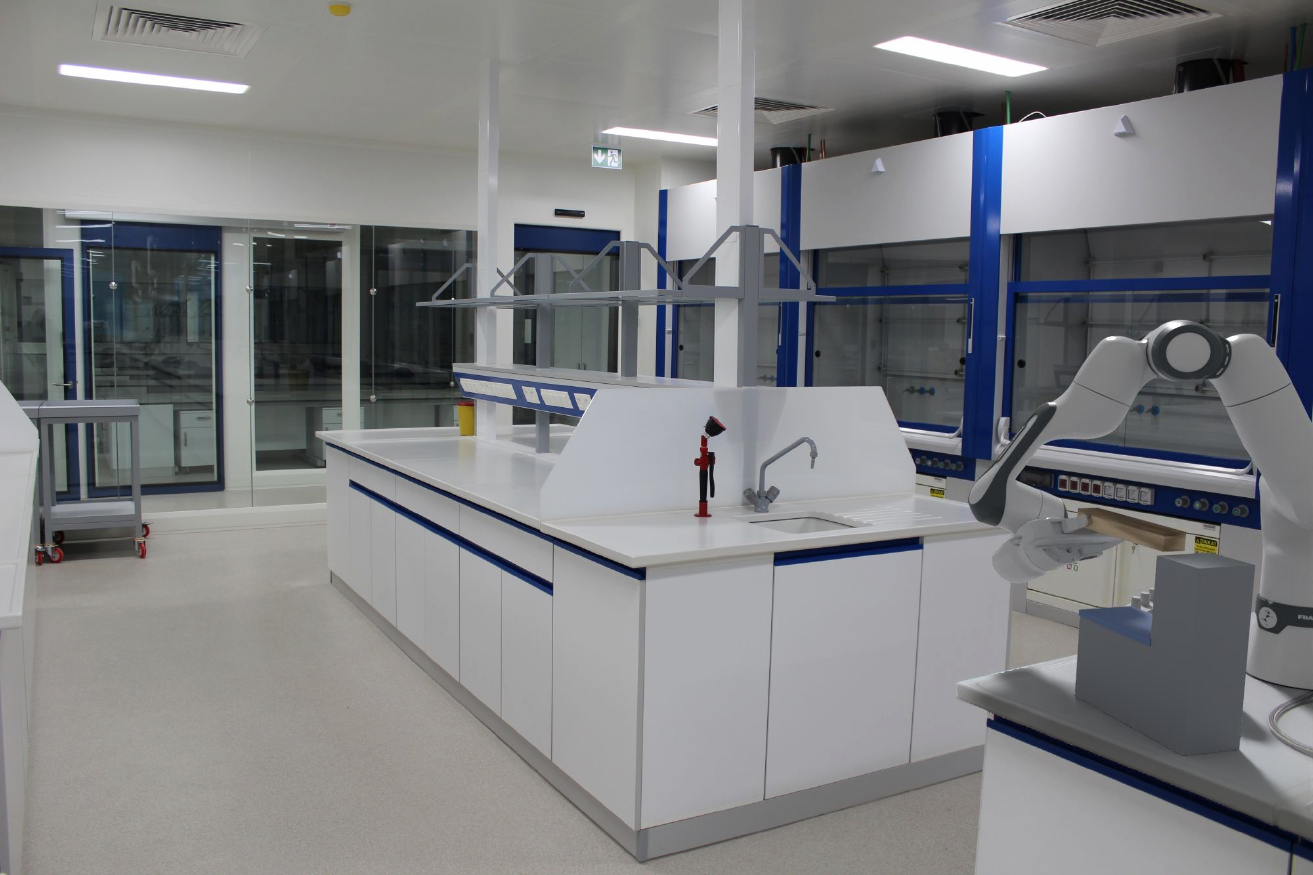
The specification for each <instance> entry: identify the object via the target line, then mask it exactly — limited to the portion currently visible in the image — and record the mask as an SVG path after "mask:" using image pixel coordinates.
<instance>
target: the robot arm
mask: <svg viewBox="0 0 1313 875" xmlns="http://www.w3.org/2000/svg"><path fill="white" fill-rule="evenodd" d="M1157 378H1158V379H1159V378H1160V379H1163V380H1166V381H1169V382H1174V383H1176V382H1180V383H1191V382H1200V381H1209V383H1211V384H1212V386H1213V387H1214V388H1215V389H1216V391H1217V393H1218V395H1219V398H1220V400H1221V402H1222V404H1223V406H1224V409H1225V410H1226V412H1227V414H1228V417H1229V419H1230V421H1231V422H1232V425H1233V427H1234V429H1235V431H1236V433H1237V435H1238V437H1239V438H1238V439H1239V440H1240V442H1241V444H1242V446H1243V447H1244V449H1245V450H1246V452H1247V453H1248V455H1249V457H1250V458H1251V460H1252V461H1253V462H1254V465H1255V466H1256V468H1257V469H1258V471H1259V472H1260V474H1261V475H1260V477H1259V482H1258V487H1259V488H1258V489H1259V496H1260V500H1259V501H1260V508H1259V509H1260V527H1261V528H1260V529H1261V538H1262V539H1261V542H1262V559H1261V560H1262V562H1261V570H1260V571H1261V572H1260V584H1259V593H1257V594H1256V596H1255V597H1256V598H1255V601H1254V605H1255V606H1254V614H1255V615H1256V618H1254V620H1253V622H1252V627H1251V630H1250V631H1251V632H1250V634H1249V644H1248V655H1247V667H1246V674H1249V675H1251V676H1252V677H1255V678H1258V679H1260V680H1264V681H1266V682H1270V683H1273V684H1278V685H1282V686H1287V687H1292V688H1298V689H1305V690H1313V422H1312V420H1311V419H1310V417H1309V415H1308V413H1307V411H1306V409H1305V406H1304V405H1303V403H1302V402H1303V401H1302V400H1301V398H1300V396H1299V394H1298V392H1297V390H1296V388H1295V386H1294V384H1293V382H1292V380H1291V378H1290V376H1289V374H1288V372H1287V370H1286V369H1285V367H1284V365H1283V363H1282V362H1281V359H1280V358H1279V357H1278V356H1277V354H1276V353H1275V351H1273V349H1272V348H1271V346H1270V345H1269V344H1268V342H1267V341H1266V340H1265V339H1264V338H1263V337H1261V336H1260V335H1259V334H1254V333H1240V334H1234V335H1231V336H1229V337H1227V338H1225V337H1223V336H1222V335H1220V334H1219V333H1217V332H1216V331H1214V330H1213V329H1211V328H1209V327H1208V326H1207V325H1204V324H1201V323H1199V322H1197V321H1196V322H1195V321H1191V320H1186V319H1176V320H1171V321H1167V322H1165V323H1163V324H1161V325H1158V326H1156V327H1155V328H1153V329H1152V330H1150V331H1148V332H1146V333H1145V334H1144V335H1142V336H1141V337H1139V338H1138V339H1132V338H1129V337H1126V336H1123V335H1122V336H1121V335H1114V336H1108V337H1105V338H1104V339H1101V341H1099V343H1098V344H1097V345H1096V346H1095V347H1094V348H1093V349H1092V351H1091V353H1090V354H1089V355H1088V357H1087V358H1086V359H1085V361H1084V362H1083V363H1082V364H1081V366H1080V368H1079V369H1078V371H1077V373H1076V375H1075V377H1074V378H1073V380H1072V382H1071V383H1070V385H1069V387H1068V388H1067V389H1065V391H1064V392H1063V393H1062V394H1061V395H1060V396H1058V398H1056V399H1054V400H1053V401H1050V402H1049V401H1048V402H1043V403H1042V404H1040V405H1039V406H1038V407H1037V408H1036V409H1035V410H1034V411H1033V412H1032V413H1031V414H1030V415H1029V417H1028V418H1027V419H1026V420H1025V422H1024V423H1023V424H1022V425H1021V427H1020V428H1019V429H1018V430H1017V432H1016V433H1015V435H1014V436H1013V437H1012V438H1011V440H1010V441H1009V442H1008V444H1007V445H1006V446H1005V448H1004V449H1003V450H1002V451H1001V453H1000V454H999V455H998V457H997V458H996V459H995V460H994V462H993V463H992V464H991V466H989V468H988V469H987V470H985V472H983V474H982V475H981V476H979V477H978V479H977V480H976V482H974V483H973V486H972V487H971V489H970V491H969V494H968V499H967V503H968V506H969V509H970V511H971V513H972V515H973V516H974V518H975V520H976V521H977V522H979V523H982V524H985V525H986V524H987V525H988V526H993V527H998V528H1000V529H1003V531H1006V532H1009V533H1011V535H1010V536H1009V538H1008V539H1007V540H1006V541H1005V542H1004V543H1002V544H1001V545H999V547H997V548H996V549H995V550H994V552H993V553H992V556H991V565H992V567H993V569H994V572H996V574H997V575H998V576H999V577H1000V578H1001V579H1003V580H1004V581H1007V582H1008V583H1009V582H1010V583H1013V584H1024V583H1028V582H1031V581H1032V582H1033V581H1034V580H1037V579H1039V578H1041V577H1044V576H1045V575H1046V574H1048V573H1049V572H1052V571H1056V570H1058V569H1060V568H1063V567H1064V566H1070V565H1071V564H1073V563H1076V562H1081V561H1087V560H1092V559H1097V558H1099V557H1101V556H1103V555H1104V551H1108V550H1110V549H1113V548H1115V547H1116V546H1120V544H1123V543H1124V542H1126V540H1123V539H1119V538H1116V537H1113V536H1110V535H1107V534H1103V533H1100V532H1097V531H1094V530H1090V529H1087V528H1084V527H1088V526H1090V525H1092V524H1093V520H1092V519H1091V518H1092V516H1091V515H1090V514H1084V515H1080V516H1078V517H1077V516H1076V517H1070V518H1069V514H1068V509H1067V508H1066V504H1065V503H1064V501H1063V500H1062V499H1061V498H1060V497H1057V496H1055V495H1053V494H1051V493H1049V492H1047V491H1044V490H1041V489H1038V488H1035V487H1033V486H1030V485H1028V484H1025V483H1023V482H1021V481H1018V480H1016V479H1017V477H1018V476H1019V474H1021V472H1022V471H1023V470H1024V468H1025V467H1026V466H1027V464H1028V462H1030V461H1031V459H1032V458H1033V457H1034V455H1035V454H1036V453H1037V451H1038V450H1039V449H1040V448H1041V447H1042V446H1043V445H1045V444H1047V443H1049V442H1051V441H1055V440H1056V441H1057V440H1063V439H1064V440H1066V439H1067V440H1068V439H1069V440H1071V439H1073V440H1093V439H1098V438H1102V437H1104V436H1107V435H1109V434H1111V433H1113V432H1114V431H1116V429H1117V428H1118V427H1119V426H1120V425H1121V424H1122V423H1123V420H1124V419H1125V418H1126V416H1127V415H1128V412H1129V411H1130V408H1131V407H1132V405H1133V403H1134V401H1135V399H1136V397H1137V396H1138V393H1139V392H1140V391H1141V389H1142V388H1143V387H1144V386H1145V385H1146V384H1147V383H1148V382H1149V381H1151V380H1153V379H1157Z"/></svg>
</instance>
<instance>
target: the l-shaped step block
mask: <svg viewBox="0 0 1313 875" xmlns="http://www.w3.org/2000/svg"><path fill="white" fill-rule="evenodd" d="M1155 562H1156V563H1155V574H1154V575H1155V576H1154V577H1155V578H1154V587H1153V588H1154V600H1153V614H1151V613H1148V612H1146V611H1143V610H1140V609H1138V608H1135V607H1133V606H1125V605H1123V606H1124V607H1123V606H1113V607H1111V606H1110V607H1097V608H1096V607H1095V608H1084V609H1083V608H1082V609H1078V616H1079V625H1078V626H1079V628H1078V638H1077V639H1078V643H1077V653H1076V654H1077V657H1076V672H1075V684H1074V685H1075V687H1074V688H1075V689H1074V697H1075V698H1078V699H1079V700H1082V701H1083V702H1085V703H1087V704H1089V705H1091V706H1093V707H1094V708H1096V709H1098V710H1100V711H1101V712H1103V713H1105V714H1106V715H1108V716H1110V717H1113V719H1116V720H1117V721H1120V722H1121V723H1123V724H1125V725H1127V727H1128V726H1129V727H1130V728H1132V729H1134V730H1136V731H1137V732H1140V733H1141V734H1143V735H1145V736H1146V737H1149V738H1151V739H1153V740H1154V741H1156V742H1158V743H1160V744H1161V745H1163V746H1165V747H1167V748H1168V749H1170V750H1172V751H1174V752H1176V753H1178V754H1180V755H1181V756H1184V757H1185V756H1186V757H1187V756H1194V755H1202V754H1212V753H1221V752H1229V751H1238V750H1240V747H1241V746H1240V745H1241V734H1242V726H1243V725H1242V724H1243V723H1242V722H1243V712H1244V711H1243V709H1244V700H1245V697H1244V696H1245V686H1246V678H1247V675H1246V674H1247V672H1246V667H1247V655H1248V645H1249V640H1250V633H1251V632H1250V631H1251V630H1250V629H1251V618H1252V608H1253V607H1252V606H1253V596H1254V584H1255V583H1254V582H1255V570H1256V565H1255V564H1253V563H1249V562H1247V561H1246V562H1245V561H1242V560H1239V559H1235V558H1232V557H1229V556H1224V555H1222V554H1221V555H1220V554H1217V553H1214V552H1202V553H1200V552H1199V553H1196V552H1195V553H1183V554H1181V553H1180V554H1163V555H1161V554H1160V555H1156V560H1155Z"/></svg>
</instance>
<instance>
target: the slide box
mask: <svg viewBox="0 0 1313 875" xmlns="http://www.w3.org/2000/svg"><path fill="white" fill-rule="evenodd" d="M1084 514H1090V515H1091V516H1092V518H1091V519H1092V520H1093V524H1092V525H1090V526H1088V527H1084V528H1087V529H1090V530H1094V531H1097V532H1100V533H1103V534H1107V535H1110V536H1113V537H1116V538H1119V539H1123V540H1126V541H1127V542H1130V543H1133V544H1137V545H1140V546H1142V547H1146V548H1149V549H1153V550H1154V551H1155V550H1156V551H1159V552H1162V553H1167V552H1168V553H1169V552H1170V553H1171V552H1185V551H1186V539H1187V531H1184V530H1181V529H1178V528H1174V527H1170V526H1167V525H1162V524H1159V523H1156V522H1151V521H1147V520H1145V519H1141V518H1137V517H1134V516H1130V515H1126V514H1123V513H1120V512H1115V511H1112V510H1109V509H1105V508H1101V507H1077V515H1076V517H1078V516H1080V515H1084ZM1126 541H1125V542H1126Z"/></svg>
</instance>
